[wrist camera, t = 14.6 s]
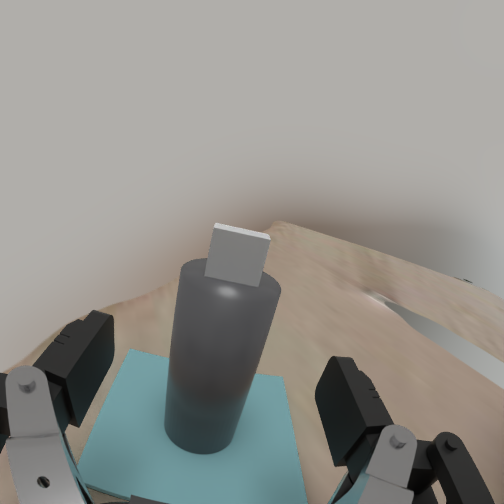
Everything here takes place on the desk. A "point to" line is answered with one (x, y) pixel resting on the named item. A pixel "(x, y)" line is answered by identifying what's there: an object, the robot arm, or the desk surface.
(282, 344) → the desk surface
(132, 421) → the teal mat
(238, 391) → the grey capped bottle
